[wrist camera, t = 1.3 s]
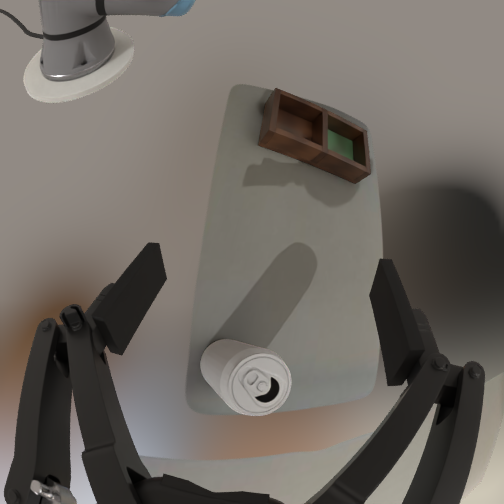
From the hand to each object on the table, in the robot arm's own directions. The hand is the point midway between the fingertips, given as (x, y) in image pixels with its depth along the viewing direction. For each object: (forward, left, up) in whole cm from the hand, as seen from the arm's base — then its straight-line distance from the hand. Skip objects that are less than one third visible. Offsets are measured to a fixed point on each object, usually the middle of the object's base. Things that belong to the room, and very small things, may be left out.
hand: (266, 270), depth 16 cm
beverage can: (+4, -8, -19) cm, 21 cm away
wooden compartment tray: (+13, +28, -19) cm, 36 cm away
